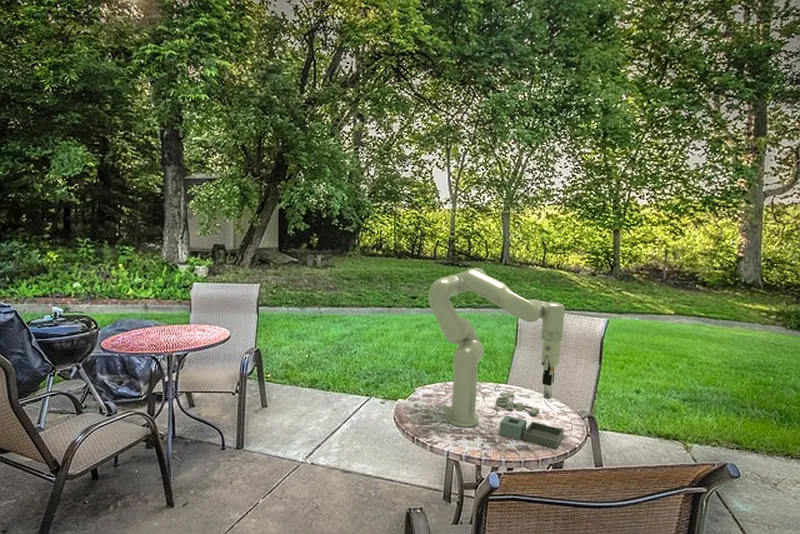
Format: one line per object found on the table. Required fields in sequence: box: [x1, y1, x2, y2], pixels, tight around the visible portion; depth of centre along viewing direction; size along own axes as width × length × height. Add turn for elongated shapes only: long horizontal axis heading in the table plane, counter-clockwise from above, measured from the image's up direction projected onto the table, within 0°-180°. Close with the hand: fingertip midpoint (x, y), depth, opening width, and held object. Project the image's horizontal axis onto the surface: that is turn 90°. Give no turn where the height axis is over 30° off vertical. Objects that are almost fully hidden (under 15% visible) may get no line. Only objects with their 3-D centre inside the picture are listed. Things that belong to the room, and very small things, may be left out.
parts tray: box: [522, 421, 565, 450], centre depth 176 cm, size 12×12×3 cm
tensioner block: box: [498, 415, 528, 441], centre depth 179 cm, size 8×8×5 cm
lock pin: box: [542, 365, 556, 400], centre depth 174 cm, size 4×4×12 cm
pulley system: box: [495, 392, 540, 417], centre depth 209 cm, size 27×5×15 cm
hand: (547, 382), depth 174 cm, fingers closed on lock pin, 3 cm apart
